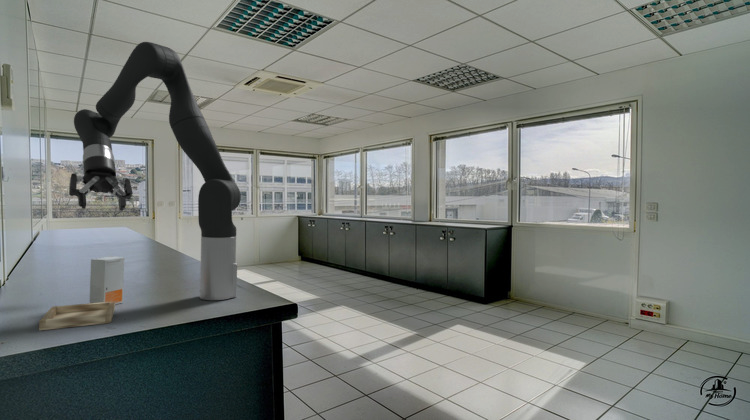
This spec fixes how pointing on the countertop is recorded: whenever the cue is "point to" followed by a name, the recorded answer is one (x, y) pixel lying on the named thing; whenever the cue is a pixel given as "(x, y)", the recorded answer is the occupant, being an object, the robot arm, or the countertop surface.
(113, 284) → the skincare box
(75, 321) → the holder
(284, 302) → the countertop surface
